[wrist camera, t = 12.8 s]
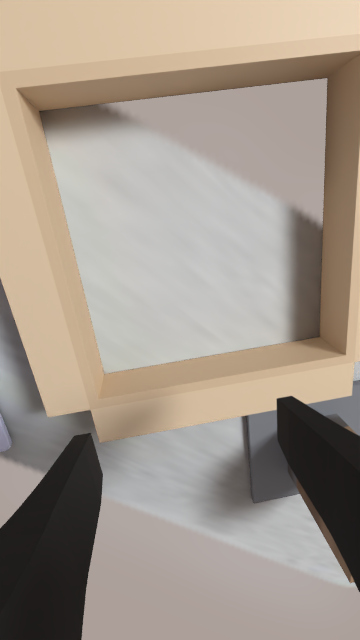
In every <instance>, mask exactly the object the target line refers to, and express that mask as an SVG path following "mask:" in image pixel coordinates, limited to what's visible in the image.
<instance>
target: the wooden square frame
mask: <svg viewBox="0 0 360 640" xmlns="http://www.w3.org/2000/svg"><path fill="white" fill-rule="evenodd" d="M322 78H328V83H327V84H328V85H327V116H326V148H325V180H324V212H323V243H322V275H321V307H320V337H316V338H311V339H305V340H299V341H293V342H287V343H282V344H276V345H270V346H264V347H259V348H253V349H247V350H241V351H236V352H230V353H224V354H218V355H212V356H207V357H201V358H195V359H189V360H184V361H178V362H172V363H166V364H160V365H155V366H149V367H143V368H137V369H132V370H126V371H120V372H114V373H109V374H104V371H103V367H102V363H101V359H100V355H99V351H98V347H97V343H96V339H95V335H94V330H93V326H92V322H91V318H90V314H89V310H88V306H87V302H86V298H85V294H84V290H83V286H82V282H81V278H80V274H79V270H78V266H77V262H76V258H75V254H74V250H73V246H72V242H71V238H70V234H69V230H68V226H67V222H66V218H65V214H64V210H63V206H62V202H61V198H60V194H59V190H58V186H57V182H56V178H55V174H54V170H53V166H52V162H51V158H50V153H49V149H48V145H47V141H46V137H45V133H44V129H43V125H42V121H41V117H40V113H39V111H44V110H53V109H61V108H70V107H79V106H87V105H96V104H105V103H114V102H121V101H131V100H140V99H148V98H157V97H165V96H174V95H183V94H191V93H200V92H209V91H218V90H226V89H235V88H244V87H252V86H261V85H270V84H279V83H287V82H296V81H304V80H314V79H322ZM0 278H1V281H2V284H3V287H4V290H5V293H6V296H7V299H8V302H9V305H10V308H11V311H12V313H13V316H14V319H15V322H16V325H17V328H18V331H19V334H20V337H21V340H22V343H23V346H24V349H25V352H26V354H27V357H28V360H29V363H30V366H31V369H32V372H33V375H34V378H35V381H36V384H37V387H38V390H39V393H40V395H41V398H42V401H43V404H44V407H45V410H46V413H47V416H48V417H53V416H59V415H64V414H70V413H75V412H81V411H87V410H91V413H92V417H93V420H94V424H95V428H96V431H97V435H98V438H99V442H100V443H102V442H108V441H113V440H118V439H123V438H129V437H134V436H139V435H145V434H150V433H155V432H161V431H166V430H171V429H177V428H182V427H187V426H193V425H198V424H203V423H209V422H214V421H219V420H225V419H230V418H235V417H241V416H246V415H251V414H257V413H262V412H267V411H273V410H277V398H282V397H288V396H293V397H295V398H296V399H298V400H300V401H301V402H303V403H304V404H310V403H315V402H320V401H326V400H331V399H336V398H342V397H347V396H352V387H353V374H354V362H358V361H360V0H0Z"/></svg>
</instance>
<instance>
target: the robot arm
mask: <svg viewBox="0 0 360 640" xmlns="http://www.w3.org/2000/svg"><path fill="white" fill-rule="evenodd" d="M277 440H278V443H279V445H280V447H281V449H282V452H283V454H284V456H285V458H286V460H287V462H288V464H289V466H290V468H291V470H292V471H293V473H294V474H295V476H296V478H297V479H298V481H299V483H300V484H301V486H302V488H303V489H304V491H305V492H306V494H307V496H308V497H309V499H310V501H311V502H312V504H313V505H314V507H315V509H316V510H317V512H318V513H319V515H320V517H321V518H322V520H323V522H324V523H325V525H326V527H327V529H328V530H329V532H330V534H331V536H332V537H333V539H334V541H335V543H336V545H337V547H338V549H339V551H340V553H341V555H342V557H343V559H344V561H345V563H346V565H347V567H348V569H349V571H350V573H351V575H352V578H353V580H354V582H355V584H356V586H357V588H358V590H359V592H360V436H359V435H357V434H355V433H353V432H351V431H350V430H348V429H346V428H344V427H342V426H341V425H339V424H337V423H336V422H334V421H332V420H330V419H329V418H327V417H325V416H324V415H322V414H321V413H319V412H317V411H316V410H314V409H312V408H311V407H309V406H308V405H306V404H304V403H303V402H301V401H300V400H298V399H296V398H295V397H293V396H288V397H282V398H277ZM11 444H12V441H11V438H10V436H9V433H8V431H7V428H6V426H5V423H4V421H3V418H2V416H1V413H0V452H2V451H6V450H8V449H9V448H10V446H11ZM102 479H103V474H102V470H101V467H100V463H99V460H98V456H97V453H96V449H95V446H94V442H93V439H92V436H91V433H88V434H83V435H77V436H74V437H73V439H72V440H71V441H70V443H69V444H68V445H67V447H66V448H65V449H64V451H63V452H62V453H61V455H60V456H59V458H58V459H57V460H56V462H55V463H54V464H53V466H52V467H51V468H50V470H49V471H48V472H47V474H46V475H45V476H44V478H43V479H42V480H41V482H40V483H39V484H38V486H37V487H36V488H35V489H34V491H33V492H32V493H31V494H30V495H29V497H28V498H27V499H26V500H25V501H24V503H23V504H22V505H21V506H20V507H19V509H18V510H17V511H16V512H15V513H14V514H13V515H12V517H11V518H10V519H9V520H8V521H7V522H6V523H5V524H4V525H3V526H2V527H1V528H0V640H81V637H82V625H83V615H84V605H85V594H86V586H87V578H88V572H89V566H90V561H91V555H92V550H93V545H94V539H95V534H96V528H97V523H98V517H99V512H100V506H101V496H102Z"/></svg>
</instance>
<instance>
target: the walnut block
mask: <svg viewBox="0 0 360 640" xmlns="http://www.w3.org/2000/svg"><path fill="white" fill-rule="evenodd" d="M325 417H327V418H329V419H330V420H332V421H334V422H336V423H337V424H339V425H341V426H342V427H344V428H346V429H348V430H350V431H351V432H353V433H355V432H354V431H353V430H352V429H351V428H350V427H349V426H348V425H347V424H346V422H345V421H344V420H343V419H342V418H341V417H340V416H339V415H338V414H337V413H336V414H331V415H326V416H325ZM355 434H356V433H355ZM288 473H289V475H290V477H291V479H292V480H293V482H294V484H295V486H296V487H297V489H298V491H299V493H300V495H301V496H302V498H303V500H304V502H305V503H306V505H307V507H308V509H309V511H310V512H311V514H312V516H313V518H314V519H315V521H316V523H317V525H318V527H319V528H320V530H321V532H322V534H323V535H324V537H325V539H326V541H327V543H328V544H329V546H330V548H331V550H332V551H333V553H334V555H335V557H336V559H337V560H338V562H339V564H340V566H341V567H342V569H343V571H344V573H345V575H346V576H347V578H348V580H349V582H350V583H352V582H354V580H353V578H352V575H351V573H350V571H349V569H348V567H347V565H346V563H345V561H344V559H343V557H342V555H341V553H340V551H339V549H338V547H337V545H336V543H335V541H334V539H333V537H332V536H331V534H330V532H329V530H328V529H327V527H326V525H325V523H324V522H323V520H322V518H321V517H320V515H319V513H318V512H317V510H316V509H315V507H314V505H313V504H312V502H311V501H310V499H309V497H308V496H307V494H306V492H305V491H304V489H303V488H302V486H301V484H300V483H299V481H298V479H297V478H296V476H295V474H294V473H293V471H292V470H291V468H290V466H289V464H288Z"/></svg>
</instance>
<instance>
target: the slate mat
mask: <svg viewBox="0 0 360 640" xmlns="http://www.w3.org/2000/svg"><path fill="white" fill-rule="evenodd" d="M306 405H308V406H309V407H311V408H312V409H314V410H316V411H317V412H319V413H321V414H322V415H324V416H326V415H331V414H336V413H337V414H338V415H339V416H340V417H341V418H342V419H343V420H344V421H345V422H346V424H347V425H348V426H349V427H350V428H351V429H352V430H353V431H354V432H355V433H356V434H357V435H359V436H360V380H359V381H354V382H353V387H352V396H347V397H342V398H336V399H331V400H326V401H320V402H315V403H310V404H306ZM247 429H248V444H249V459H250V474H251V489H252V499H253V502H254V503H258V502H263V501H268V500H273V499H277V498H282V497H287V496H292V495H297V494H300V493H299V491H298V489H297V487H296V486H295V484H294V482H293V480H292V479H291V477H290V475H289V473H288V462H287V460H286V458H285V456H284V454H283V452H282V449H281V447H280V445H279V443H278V440H277V410H273V411H267V412H262V413H257V414H251V415H247Z"/></svg>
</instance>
